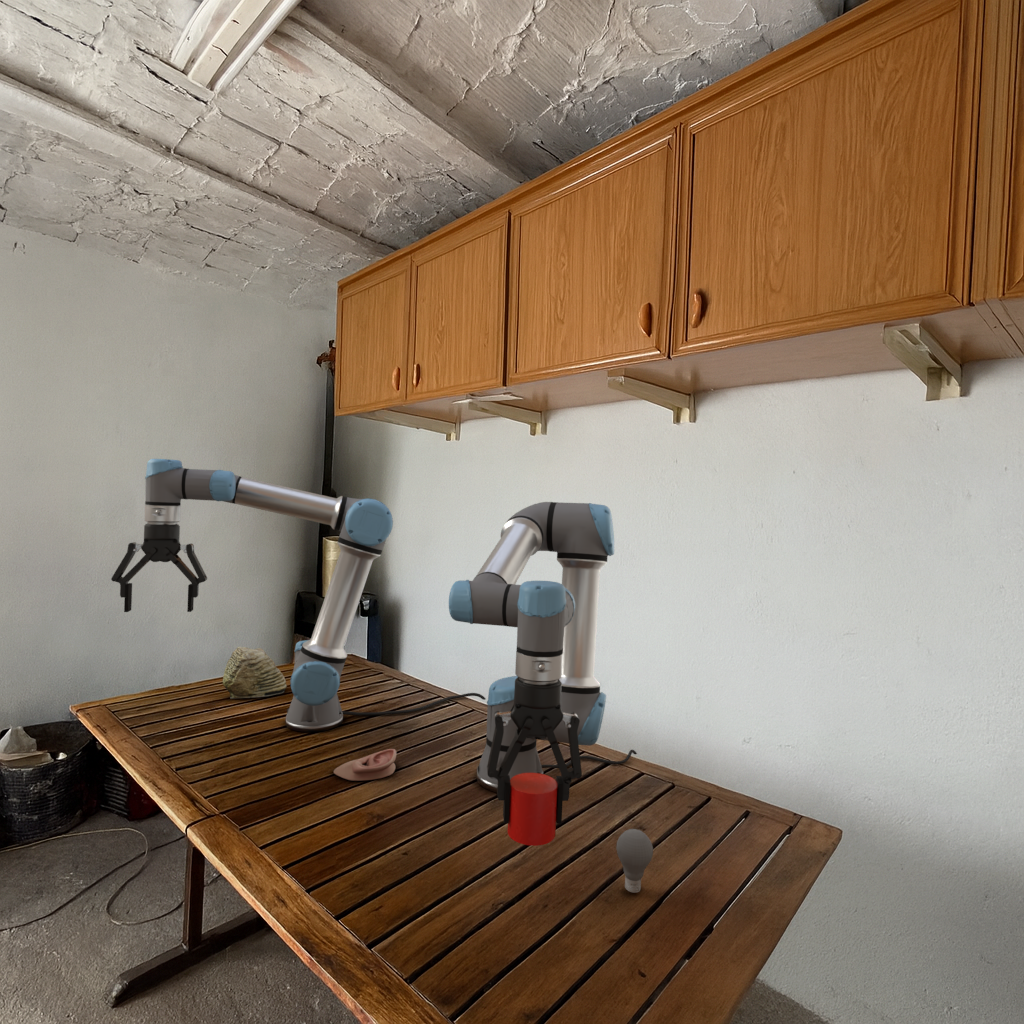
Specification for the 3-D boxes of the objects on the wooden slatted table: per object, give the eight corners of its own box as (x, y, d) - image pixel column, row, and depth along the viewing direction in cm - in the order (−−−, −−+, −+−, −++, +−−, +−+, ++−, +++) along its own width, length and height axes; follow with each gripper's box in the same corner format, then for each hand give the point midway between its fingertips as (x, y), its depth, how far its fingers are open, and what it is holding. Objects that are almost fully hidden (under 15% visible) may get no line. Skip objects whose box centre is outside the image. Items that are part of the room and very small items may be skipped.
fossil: (218, 695, 195) (220, 647, 195) (278, 685, 208) (279, 640, 207) (228, 703, 189) (230, 653, 188) (289, 692, 201) (290, 645, 201)
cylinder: (563, 841, 100) (565, 790, 99) (517, 849, 97) (520, 796, 97) (543, 817, 107) (546, 770, 107) (500, 824, 104) (502, 775, 104)
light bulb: (610, 879, 108) (613, 822, 108) (644, 879, 109) (647, 822, 109) (619, 902, 102) (622, 840, 102) (655, 901, 103) (658, 840, 103)
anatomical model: (327, 759, 142) (350, 741, 154) (326, 777, 143) (349, 757, 154) (382, 767, 140) (402, 748, 151) (382, 785, 140) (401, 764, 151)
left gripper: (97, 522, 146) (94, 614, 146) (215, 525, 152) (212, 613, 153) (109, 520, 153) (106, 608, 153) (221, 524, 159) (218, 608, 160)
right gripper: (474, 683, 97) (467, 831, 97) (606, 686, 99) (600, 831, 99) (473, 670, 105) (467, 807, 105) (596, 673, 106) (590, 808, 106)
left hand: (159, 611), depth 153 cm, fingers open, 13 cm apart
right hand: (531, 819), depth 102 cm, fingers closed on cylinder, 8 cm apart
